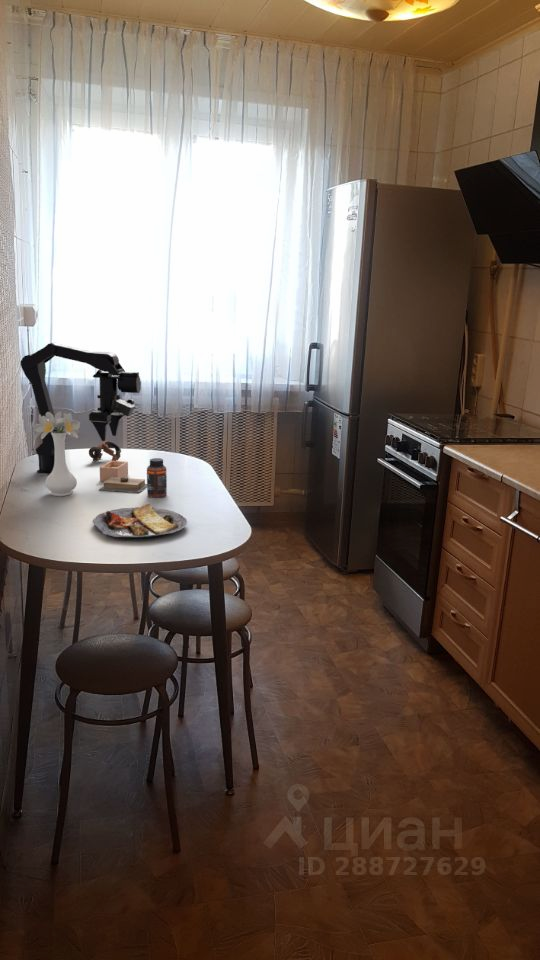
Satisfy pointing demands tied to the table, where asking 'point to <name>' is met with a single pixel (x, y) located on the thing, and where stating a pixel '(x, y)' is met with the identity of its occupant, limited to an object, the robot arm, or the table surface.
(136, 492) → the mat
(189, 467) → the table surface
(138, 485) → the lid
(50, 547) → the table surface
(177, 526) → the food plate
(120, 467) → the dish
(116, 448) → the dark brown looped piece
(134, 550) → the table surface
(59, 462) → the flower vase
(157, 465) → the supplement bottle
